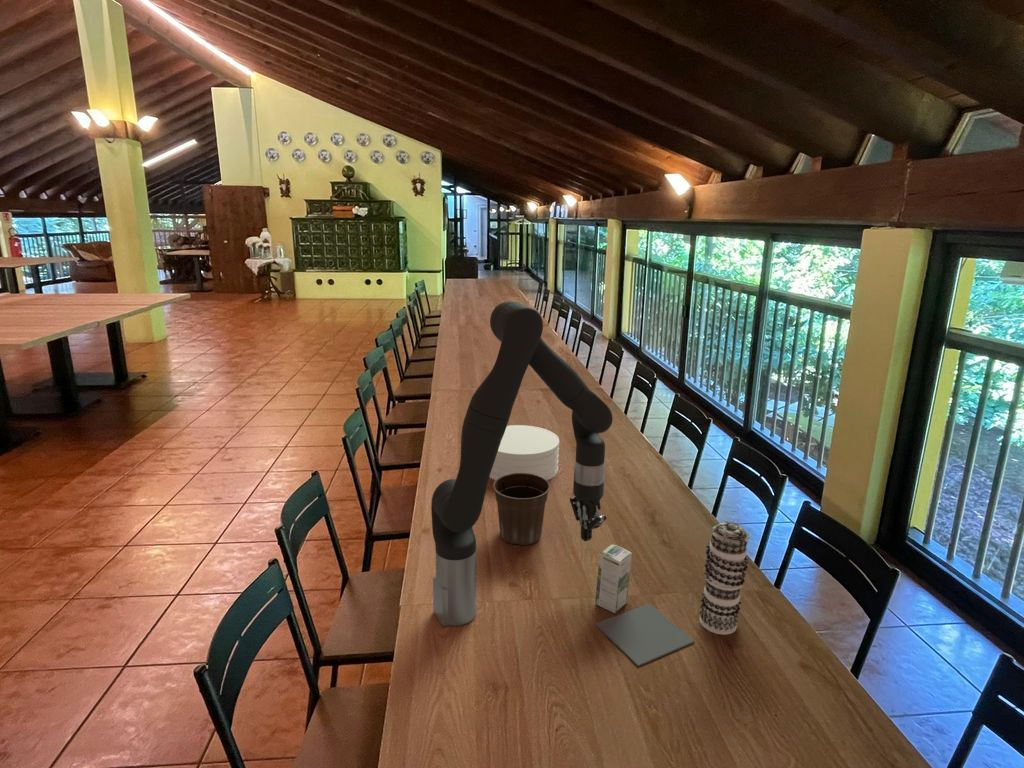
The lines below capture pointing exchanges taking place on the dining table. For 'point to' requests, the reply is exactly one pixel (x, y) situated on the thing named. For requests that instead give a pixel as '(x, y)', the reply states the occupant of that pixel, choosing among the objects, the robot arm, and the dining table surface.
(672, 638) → the mat
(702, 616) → the decorative candle
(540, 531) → the plant pot
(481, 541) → the dining table surface
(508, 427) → the plate stack
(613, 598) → the syrup box
